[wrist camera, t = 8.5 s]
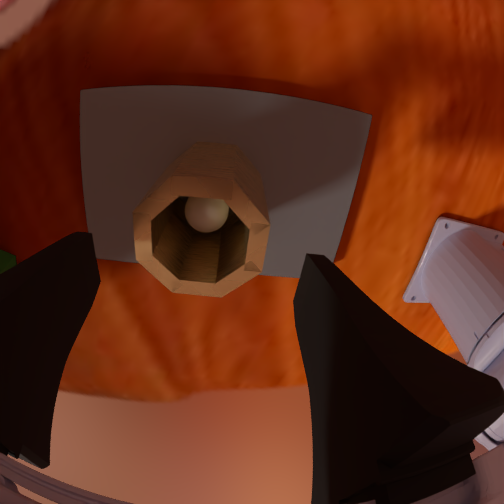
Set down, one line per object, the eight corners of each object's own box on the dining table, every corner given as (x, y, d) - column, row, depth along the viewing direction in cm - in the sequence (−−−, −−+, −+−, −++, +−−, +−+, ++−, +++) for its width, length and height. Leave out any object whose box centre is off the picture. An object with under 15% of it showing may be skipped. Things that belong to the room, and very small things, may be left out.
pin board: (362, 112, 15) (408, 127, 10) (322, 267, 21) (342, 322, 16) (92, 88, 14) (39, 97, 9) (100, 246, 19) (68, 295, 15)
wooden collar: (264, 148, 15) (277, 185, 10) (252, 231, 17) (256, 300, 12) (169, 139, 14) (131, 173, 9) (167, 223, 17) (139, 288, 12)
